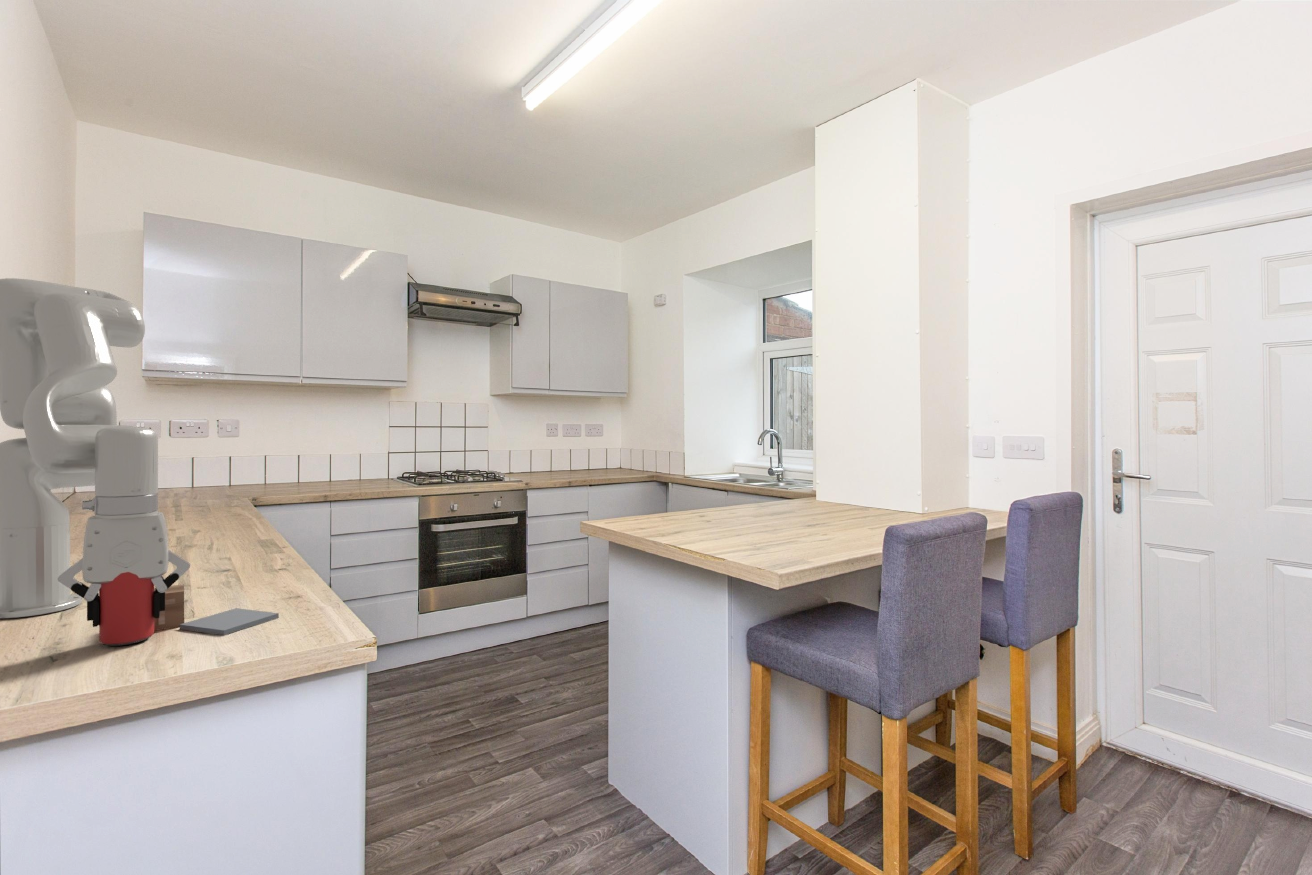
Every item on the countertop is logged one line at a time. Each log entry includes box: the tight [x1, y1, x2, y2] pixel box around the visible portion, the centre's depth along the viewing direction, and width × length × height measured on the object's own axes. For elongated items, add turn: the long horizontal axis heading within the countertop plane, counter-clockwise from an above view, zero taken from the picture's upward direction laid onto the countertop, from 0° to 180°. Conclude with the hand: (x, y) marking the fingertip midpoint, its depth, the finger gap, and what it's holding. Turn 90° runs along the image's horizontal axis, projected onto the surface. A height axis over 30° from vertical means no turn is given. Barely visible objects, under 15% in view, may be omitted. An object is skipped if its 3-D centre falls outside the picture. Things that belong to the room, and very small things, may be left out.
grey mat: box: [179, 607, 279, 636], centre depth 108 cm, size 10×10×1 cm
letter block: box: [154, 583, 185, 632], centre depth 107 cm, size 6×6×6 cm
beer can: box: [98, 567, 155, 647], centre depth 98 cm, size 7×7×12 cm
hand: (127, 619), depth 98 cm, fingers closed on beer can, 6 cm apart
